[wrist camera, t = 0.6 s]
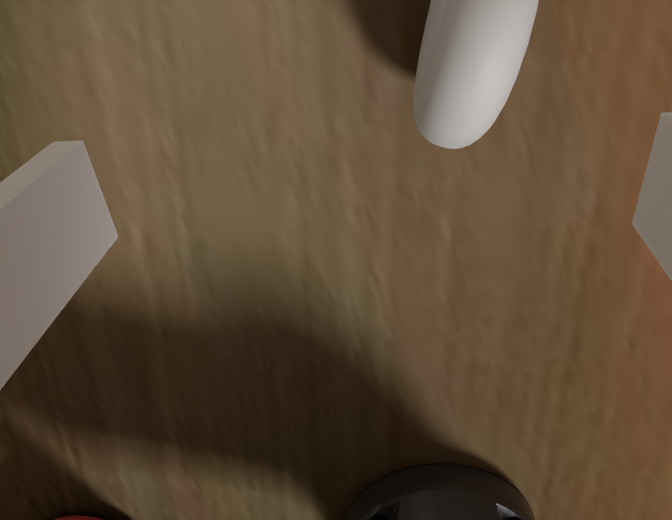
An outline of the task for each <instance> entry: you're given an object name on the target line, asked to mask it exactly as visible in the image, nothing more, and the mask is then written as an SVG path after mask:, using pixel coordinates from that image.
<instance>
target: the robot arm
mask: <svg viewBox="0 0 672 520" xmlns="http://www.w3.org/2000/svg"><path fill="white" fill-rule="evenodd" d="M632 225H633V226H634V228H635V229H636V231H637V232H638V234H639V235H640V236H641V238H642V239H643V241H644V242H645V244H646V245H647V246H648V248H649V249H650V251H651V252H652V254H653V255H654V256H655V258H656V259H657V261H658V262H659V264H660V265H661V266H662V268H663V269H664V271H665V272H666V274H667V275H668V276H669V278H670V279H671V281H672V112H669V113H661V116H660V120H659V124H658V127H657V131H656V135H655V139H654V142H653V146H652V150H651V154H650V157H649V161H648V165H647V169H646V172H645V176H644V180H643V184H642V188H641V191H640V195H639V199H638V203H637V206H636V210H635V214H634V218H633V221H632ZM117 238H118V235H117V232H116V229H115V227H114V224H113V221H112V218H111V216H110V213H109V210H108V208H107V205H106V202H105V199H104V197H103V194H102V191H101V189H100V186H99V183H98V180H97V178H96V175H95V172H94V170H93V167H92V164H91V161H90V159H89V156H88V153H87V151H86V148H85V145H84V142H83V140H82V141H61V142H52V143H51V144H50V145H49V146H47V147H46V148H45V149H43V150H42V151H41V152H39V153H38V154H37V155H35V156H34V157H33V158H32V159H30V160H29V161H28V162H26V163H25V164H24V165H22V166H21V167H20V168H19V169H17V170H16V171H15V172H13V173H12V174H11V175H9V176H8V177H7V178H6V179H4V180H3V181H2V182H0V390H1V389H2V387H3V386H4V385H5V383H6V382H7V381H8V379H9V378H10V377H11V376H12V374H13V373H14V372H15V370H16V369H17V368H18V366H19V365H20V364H21V363H22V361H23V360H24V359H25V357H26V356H27V355H28V354H29V352H30V351H31V350H32V348H33V347H34V346H35V344H36V343H37V342H38V341H39V339H40V338H41V337H42V335H43V334H44V333H45V331H46V330H47V329H48V328H49V326H50V325H51V324H52V322H53V321H54V320H55V318H56V317H57V316H58V315H59V313H60V312H61V311H62V309H63V308H64V307H65V305H66V304H67V303H68V302H69V300H70V299H71V298H72V296H73V295H74V294H75V292H76V291H77V290H78V289H79V287H80V286H81V285H82V283H83V282H84V281H85V280H86V278H87V277H88V276H89V274H90V273H91V272H92V270H93V269H94V268H95V267H96V265H97V264H98V263H99V261H100V260H101V259H102V257H103V256H104V255H105V254H106V252H107V251H108V250H109V248H110V247H111V246H112V244H113V243H114V242H115V241H116V239H117ZM345 520H535V518H534V515H533V512H532V510H531V508H530V506H529V504H528V503H527V501H526V500H525V499H524V497H523V496H522V495H521V494H520V493H519V492H518V491H517V490H516V489H515V488H513V487H512V486H511V485H509V484H508V483H507V482H505V481H503V480H502V479H500V478H498V477H496V476H494V475H492V474H489V473H487V472H484V471H481V470H477V469H474V468H469V467H464V466H457V465H426V466H419V467H414V468H409V469H405V470H402V471H399V472H396V473H394V474H391V475H389V476H387V477H385V478H383V479H381V480H379V481H377V482H376V483H374V484H373V485H371V486H370V487H369V488H367V489H366V490H365V491H364V492H363V493H362V494H361V495H360V496H359V497H358V498H357V499H356V500H355V502H354V503H353V505H352V506H351V508H350V510H349V512H348V514H347V517H346V519H345Z"/></svg>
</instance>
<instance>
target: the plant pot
mask: <svg viewBox="0 0 672 520" xmlns="http://www.w3.org/2000/svg"><path fill="white" fill-rule="evenodd" d="M52 520H104V519H100V518H96V517H89V516H66V517H60V518H56V519H52Z"/></svg>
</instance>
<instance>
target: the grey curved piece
mask: <svg viewBox="0 0 672 520" xmlns="http://www.w3.org/2000/svg"><path fill="white" fill-rule="evenodd" d="M537 6H538V0H431V3H430V7H429V11H428V16H427V20H426V24H425V29H424V34H423V39H422V44H421V49H420V54H419V60H418V65H417V72H416V79H415V87H414V99H413V115H414V119H415V123H416V127H417V128H418V130H419V132H420V133H421V135H422V136H423V137H424V138H426V139H427V140H428V141H429V142H431V143H433V144H435V145H438V146H441V147H444V148H452V149H458V148H462V147H465V146H468V145H470V144H472V143H473V142H475V141H476V140H478V139H479V138H480V137H481V136H482V135H483V134H484V133H485V132H486V131H487V130H488V129H489V128H490V127H491V125H492V124H493V123H494V121H495V120H496V118H497V117H498V115H499V113H500V112H501V110H502V108H503V107H504V105H505V103H506V101H507V99H508V96H509V94H510V92H511V89H512V87H513V85H514V82H515V80H516V78H517V75H518V72H519V69H520V66H521V63H522V60H523V57H524V54H525V51H526V48H527V45H528V42H529V38H530V34H531V30H532V27H533V23H534V19H535V15H536V11H537Z"/></svg>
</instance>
